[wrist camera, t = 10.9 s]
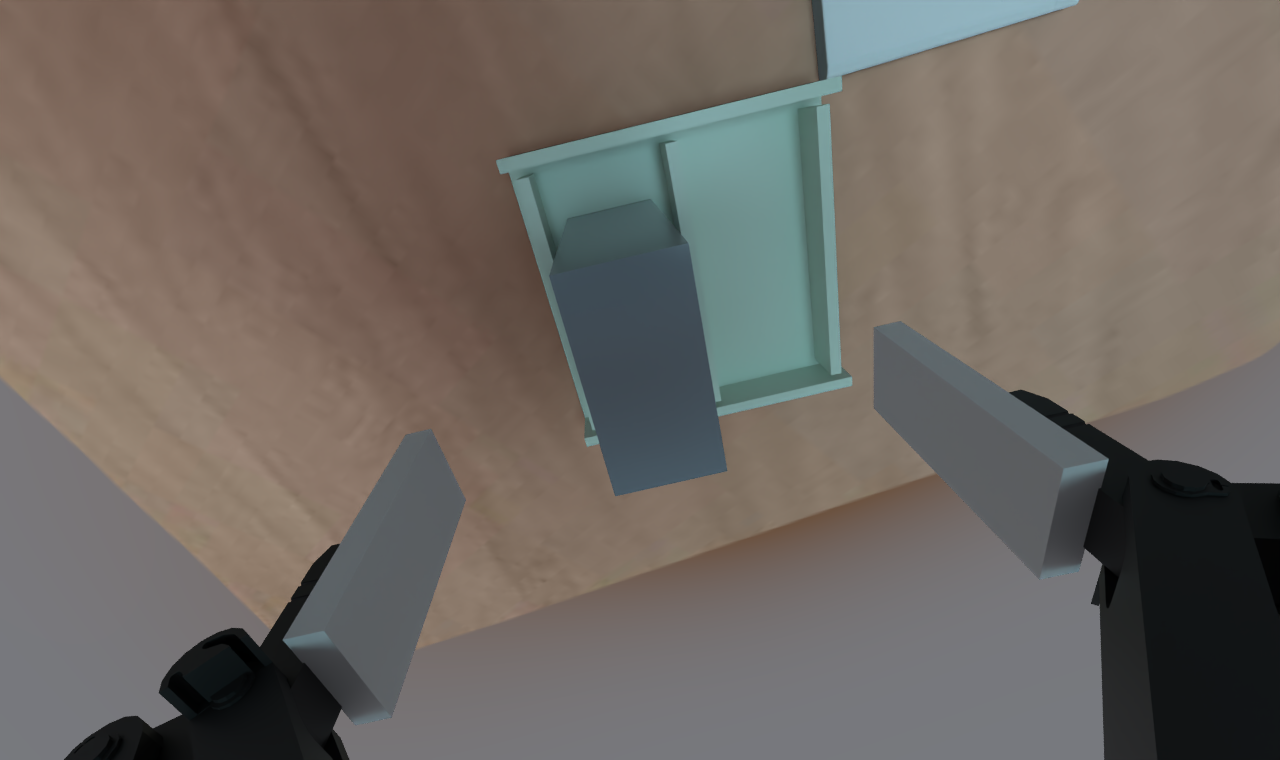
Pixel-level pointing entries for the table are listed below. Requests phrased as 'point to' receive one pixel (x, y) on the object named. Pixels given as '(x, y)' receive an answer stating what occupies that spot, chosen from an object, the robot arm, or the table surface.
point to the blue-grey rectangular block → (639, 345)
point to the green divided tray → (719, 231)
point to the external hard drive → (907, 27)
